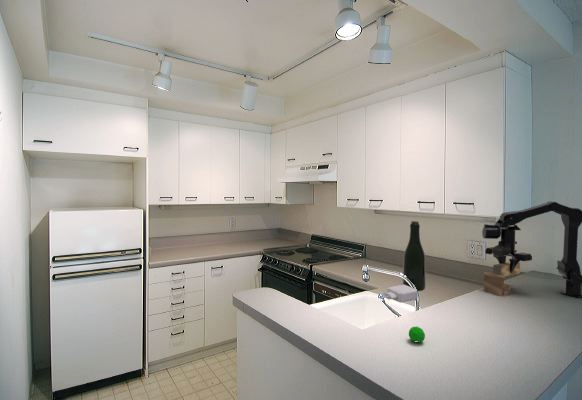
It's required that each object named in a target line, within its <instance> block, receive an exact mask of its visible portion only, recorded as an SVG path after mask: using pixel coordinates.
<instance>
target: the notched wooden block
mask: <svg viewBox="0 0 582 400" xmlns="http://www.w3.org/2000/svg"><path fill="white" fill-rule="evenodd" d="M483 275H484V277H483V278H484V281H483V292H487V293H491V294H493V295H496V296H499V297H504V296H509V295H511V284H509V283H505V278H506V276H501V275H497V274H493V272H490V271H484V272H483Z"/></svg>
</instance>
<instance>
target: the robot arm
mask: <svg viewBox="0 0 582 400" xmlns="http://www.w3.org/2000/svg"><path fill="white" fill-rule="evenodd" d="M550 212H554V213H555V214H558V215H560V217H561V222H562V224H563V226H564V231H563V232H564V234H563V235H564V236H563V252H562V253H563V255H562V258H561V260H557V261H556V263H557V266H556V270H558V273H559V274H560V275H561V276H562V278H563V279H564V280H565V290H564V291H561V294H563V295H567V296H569V297H570V296H571V297H573V298H582V272H581V267H580V263H579V262H578V260H577V259H578V256H577V255H578V238H579V236H578V235H579V228H580V226H581V225H582V210H581V209H580V208H576V207H569V206H567V205H564V204H560V203H559V202H557V201H547V202H545V203H541V204H538V205H535V206H532V207H528V208H524V209H521V210H513V211H505V212H502V213H501V214H500V215H499V219H498V220H497V221H496V223H494V224H488V223H487V224H486V223H485V224H484V225H483V228H482V230H481V235H482V238H483V239H488V240H493V239H494V240H498V239H499V238H500V240H499V241H498V242H497V243H498V244H497V245H495V246H491V247H486V248H485V254H486V255H492V256H493V257H494V258H495V259H496V260H497V261H498V264H501V263H507V262H506V261H507V257H511V258H509V259H508V262H510V273H512V272H513V271H514V269H515V267H516V266H517V264H518V263H520V261H521V262H529V261H533V256H532V254H531V253H527V252H518V251H517V249H516V244H518V242H517V241H516V231H521V230H522V229H521V228H520V227H519V226H518V224H520V223H521V222H522V221H524V220H526V219H529V218H532V217H535V216H539V215H543V214H545V213H546V214H547V213H550ZM517 252H518V253H517Z"/></svg>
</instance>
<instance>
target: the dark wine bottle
mask: <svg viewBox="0 0 582 400" xmlns="http://www.w3.org/2000/svg"><path fill="white" fill-rule="evenodd" d="M420 227H421V226H420V223H419V221H417V220H412V221H411V223H409V228H410V229H409V238H408V239H409V240H408V242H407V245H406V248H405V250H404V254H403V263H402V264H403V266H402V275H403V274H404V275H406V276H407V278H408V279H409V280H410V281H411V282H412V283H413V284H414V285H415V287H416V289H417V292H422V291H425V290H426V284H427V283H426V282H427V280H426V279H427V277H426V276H427V273H426V272H427V271H426V269H427V268H426V265H427V264H426V253H425V250H424V248H423V246H422V243H421V239H420V238H421V237H420ZM402 285H406V286H409V287H411V286H410V285H409V284H408V283H407V282H406V281H405V280H404V279H403V278H402Z"/></svg>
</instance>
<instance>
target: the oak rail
mask: <svg viewBox="0 0 582 400" xmlns="http://www.w3.org/2000/svg"><path fill="white" fill-rule="evenodd" d="M492 267H493V268H492V273H493V274H497V275H501V276H505V277H508V276H514V275H518V274H520V273H521V272H520V271H521V262H519V263H518V264H517V266H516V267H515V269H514V271H513V272H512V273H510V261H508V262H506V263H501V264H499V263H495V264H493V266H492Z"/></svg>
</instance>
